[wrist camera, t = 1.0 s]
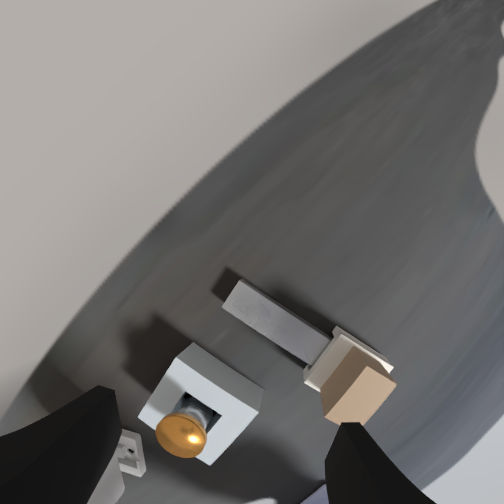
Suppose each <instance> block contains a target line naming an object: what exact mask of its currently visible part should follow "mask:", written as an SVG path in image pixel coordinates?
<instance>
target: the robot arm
mask: <svg viewBox="0 0 504 504" xmlns="http://www.w3.org/2000/svg"><path fill="white" fill-rule="evenodd" d="M121 434H122V427H121V422H120V417H119V412H118V407H117V402H116V396H115V390H112V389H109V388H106V387H103V386H99V385H98V386H96V387H95V388H93V389H91V390H90V391H88V392H86V393H85V394H83V395H82V396H80V397H78V398H77V399H75V400H74V401H72V402H70V403H69V404H67V405H65V406H64V407H62V408H60V409H59V410H57V411H55V412H53V413H52V414H50V415H48V416H46V417H44V418H42V419H40V420H38V421H36V422H34V423H32V424H30V425H28V426H26V427H24V428H22V429H20V430H17V431H15V432H12V433H9V434H7V435H4V436H1V437H0V504H87V503H88V501H89V499H90V497H91V495H92V493H93V492H94V490H95V488H96V486H97V484H98V483H99V481H100V479H101V477H102V475H103V474H104V472H105V470H106V468H107V466H108V464H109V463H110V461H111V459H112V457H113V455H114V453H115V450H116V448H117V445H118V442H119V440H120V437H121ZM325 479H326V484H324V485H322V486H321V487H320V488H319V489H318V490H317V491H315V492H314V493H313V494H312V495H310V496H309V497H308V498H307V499H305V500H304V501H303V502H302V503H300V504H436V503H435V502H434V501H432V500H431V499H430V498H428V497H427V496H426V495H425V494H424V493H422V492H421V491H420V490H419V489H418V488H417V487H416V486H415V485H414V484H413V483H412V482H411V481H410V480H409V479H408V478H407V477H406V476H405V475H404V474H403V473H402V472H401V471H400V470H399V469H398V468H397V467H396V466H395V465H394V463H393V462H392V461H391V460H390V459H389V458H388V457H387V455H386V454H385V453H384V452H383V451H382V449H381V448H380V447H379V446H378V445H377V443H376V442H375V441H374V440H373V438H372V437H371V436H370V435H369V433H368V432H367V431H366V430H365V428H364V427H363V426H362V425H361V423H360V422H341V424H340V427H339V429H338V432H337V434H336V436H335V439H334V441H333V443H332V446H331V448H330V450H329V452H328V455H327V457H326V459H325Z"/></svg>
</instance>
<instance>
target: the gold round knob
mask: <svg viewBox="0 0 504 504" xmlns="http://www.w3.org/2000/svg"><path fill="white" fill-rule="evenodd" d="M212 415H213V409H211V408H210V407H208V406H207V405H205V404H204V403H202V402H201V401H199V400H198V399H196V398H195V397H191V398H188V399H187V400H186V401H185V402H184V403H183V405H182V406H181V407H180V409H179V410H178V411H177V412H175V413H170V414H167V415H166V416H164V417H163V418H162V420H161V421H160V422H159V423H158V425H157V426H156V431H155V432H156V437H157V440H158V442H159V443H160V445H161V446H162V447H163V448H164V449H165V450H166V451H168V452H169V453H171V454H173V455H175V456H178V457H182V458H192V457H195V456H197V455H199V454H200V453H201V452H202V451H203V449H204V447H205V445H206V442H207V433H206V430H205V429H206V427H207V425H208V423H209V421H210V420H211V418H212Z"/></svg>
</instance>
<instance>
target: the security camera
mask: <svg viewBox="0 0 504 504" xmlns="http://www.w3.org/2000/svg"><path fill="white" fill-rule="evenodd" d="M128 449H131V450H133V451H134V453H131V452H130V451H129V450H128ZM121 471H123V472H126V473H129V474H132V475H135V476H138V477H142V475H143V474H144V473H145V471H146V466H145V460H144V454H143V447H142V441H141V435H140V434H138V433H135V432H131V431H128V430H125V429H122V434H121V437H120V440H119V442H118V445H117V448H116V450H115V453H114V455H113V457H112V459H111V461H110V463H109V464H108V466H107V468H106V470H105V472H104V474H103V475H102V477H101V479H100V481H99V483H98V484H97V486H96V488H95V490H94V492H93V493H92V495H91V497H90V499H89V501H88V503H87V504H115V503H116V502H117V501H118V499H119V498H120V497H121V496H122V494H123V493H124V489H125V487H124V482H123V478H122V474H121Z"/></svg>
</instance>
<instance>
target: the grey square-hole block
mask: <svg viewBox="0 0 504 504" xmlns="http://www.w3.org/2000/svg"><path fill="white" fill-rule="evenodd" d="M186 392H188V393H189V394H190V395H192V396H193V397H195V398H196V399H198V400H199V401H201V402H202V403H204V404H205V405H207V406H208V407H210V408H211V409H213V410H214V411H216V412H217V414H216V415H215V416H214V417H212V418H211V420H210V421H209V423H208V425H207V427H206V429H205V430H206V433H207V442H206V445H205V447H204V449H203V451H202V452H201V453H200V454H199V455H197V456H195V457H196V458H198V459H200V460H201V461H203V462H205V463H206V464H208V465H211V464H212V463H213V462H214V461H215V460H216V459H217V458H218V457H219V456H220V455H221V454H222V453H223V452H224V451H225V450H226V449H227V448H228V446H229V445H230V444H231V443H232V442H233V441H234V440H235V439H236V438H237V437H238V436H239V434H240V433H241V432H242V431H243V430H244V429H245V428H246V427H247V425H248V424H249V423H250V422H251V421H252V420H253V419H254V417H255V416H256V415H257V414H258V413H259V410H260V406H261V402H262V397H263V393H264V389H263V388H261V387H260V386H258V385H257V384H255V383H253V382H252V381H250V380H249V379H247V378H245V377H244V376H242V375H241V374H239V373H238V372H236V371H235V370H233V369H232V368H230V367H229V366H227V365H226V364H224V363H223V362H221V361H220V360H218V359H217V358H215V357H214V356H212V355H211V354H210V353H208V352H207V351H205V350H204V349H202V348H201V347H200V346H198V345H197V344H195V343H194V342H193V343H192V344H191V345H189V346H188V347H187V348H186V349H185V350H184V351H182V352H181V353H180V354H179V355H178V356H177V357H176V358H175V359H174V361H173V362H172V364H171V365H170V367H169V369H168V370H167V372H166V373H165V375H164V376H163V378H162V380H161V381H160V383H159V384H158V386H157V387H156V389H155V391H154V392H153V394H152V395H151V397H150V398H149V400H148V402H147V403H146V405H145V406H144V408H143V409H142V411H141V413H140V414H139V416H138V418H139V419H141V420H142V421H143V422H145V423H146V424H147V425H149V426H150V427H151V428H153V429H154V430H156V426H157V425H158V423H159V422H160V421H161V420H162V418H163V417H164V416H166V415H167V414H170V413H175V412H177V411H178V410H179V409H180V407H181V406H182V405H183V403H184V402H185V401H186V400H187V399H186V398H184V395H185V394H186Z"/></svg>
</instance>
